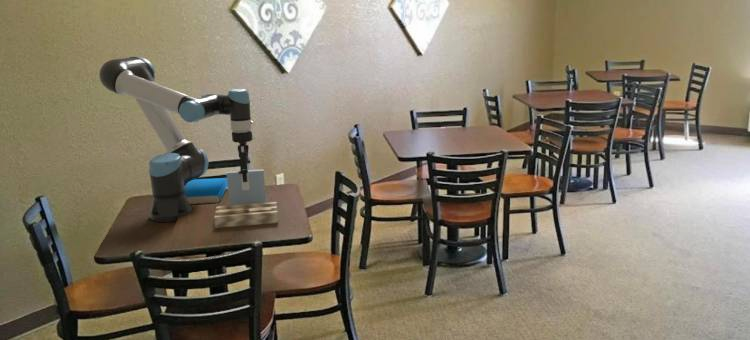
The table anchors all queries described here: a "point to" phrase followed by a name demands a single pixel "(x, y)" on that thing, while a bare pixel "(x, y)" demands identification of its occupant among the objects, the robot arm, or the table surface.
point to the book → (205, 190)
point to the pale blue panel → (246, 196)
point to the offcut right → (260, 210)
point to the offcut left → (230, 211)
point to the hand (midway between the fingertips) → (246, 184)
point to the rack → (247, 215)
